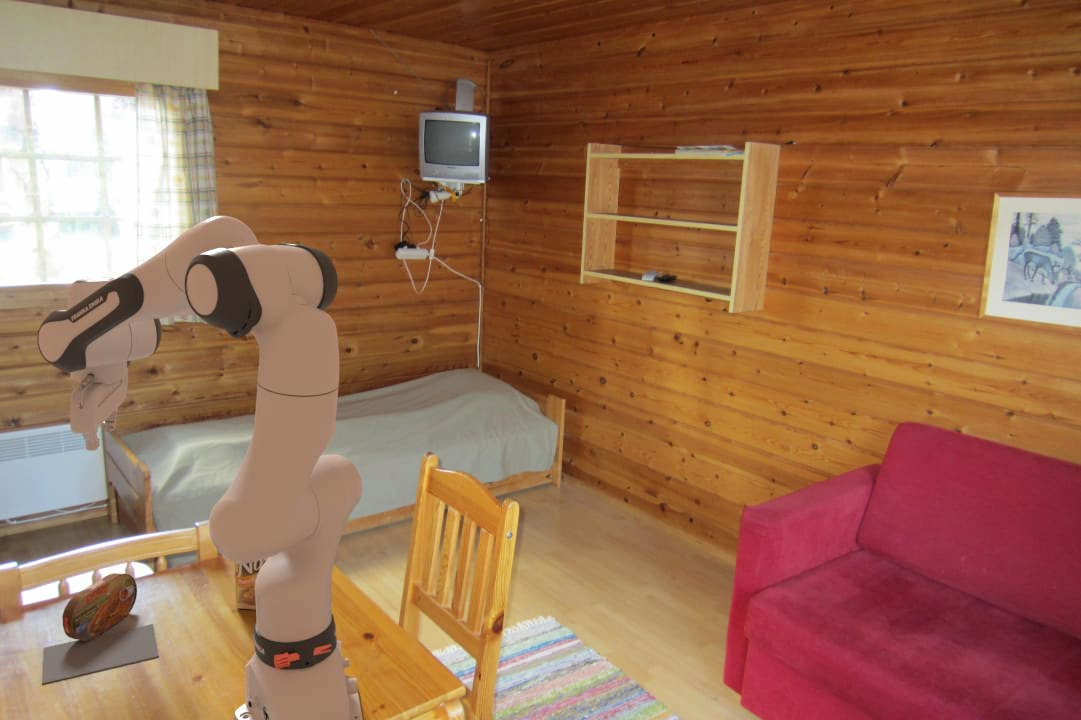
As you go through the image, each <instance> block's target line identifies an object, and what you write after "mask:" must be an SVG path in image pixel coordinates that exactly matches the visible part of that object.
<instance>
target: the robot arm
mask: <svg viewBox="0 0 1081 720" xmlns="http://www.w3.org/2000/svg"><path fill="white" fill-rule="evenodd" d="M338 289H339V281H338V275H337V269H336V267H335V265H334V263H333V261H332V260H331V258H330V256H329V255H327V254H326V253H325V252H324V251H323V250H320V249H319V248H318V249H317V248H316V247H311V246H306V245H301V244H294V243H286V242H280V243H278V244H273V245H272V244H271V245H267V244H261V243H260V242H259V241H258V238H257V236H256V234H255V232H253V230H252V229H251V228H250V227H249V226H248V225H247V224H246V223H244V222H243V221H241V220H240V219H238V218H236V217H233V216H228V215H215V216H212V217H210V218H207V219H204V220H203V221H201V222H199V223H197V224H196V225H193V226H192V227H190V228H189V229H187V230H185V231H183V233H181V234H180V235H179V236H177V237H176V238H175V239H174V240H173V241H172V242H171V243H170V244H168V245H167V246H165V248H163V249H162V250H161V251H159V252H158V253H156V254H155V255H153V256H151V257H150V258H149V259H147V260H146V261H144V262H142V263H141V264H140V265H137V266H136V267H134V268H132V269H131V270H128V271H127V272H125V273H123V274H122V275H120V276H118V277H116V278H114V277H99V278H98V277H97V278H84V279H77V280H76V281H74V282H72V283H71V284H70V287H69V291H68V300H67V309H63V310H62V309H61V310H59V309H58V310H53V311H51V312H50V313H49V314H48V315H47V316H46V317H45V319H44V320H43V321H42V323H41V324H40V326H39V328H38V331H37V346H38V350H39V353H40V354H41V357H42V358H43V359H44V360H45V361H46V363H49V364H50V365H51V366H53V367H55V368H56V369H57V370H60V371H62V372H64V373H66V374H70V378H71V380H73V381H76V382H78V386H76V388H74V389H73V390H72V393H71V395H70V405H69V406H70V410H69V411H70V412H69V413H70V414H69V415H70V416H69V420H70V421H69V422H70V424H69V425H70V430H71V432H72V433H73V434H81V435H82V437H83V439H84V441H85V449H86V450H87V451H88V452H89V451H90V452H91V451H93V452H95V451H98V449H99V447H101V446H100V438H99V437H98V434H97V433H98V429H99V428H100V427H101V426H102V431H104V432H105V433H106V432H109V433H111V432H113V431H115V429H116V427H117V425H116V424H117V423H116V420H117V416H118V411H119V406H121V404H122V403H123V402H124V401H126V398H127V394H128V387H129V367H130V366H131V364H132V361H136V360H140V359H145V358H148V357H151V356H153V355H154V354H155V353H156V352H157V350H158V348H159V346H160V344H161V342H162V337H163V336H162V334H163V330H162V324H161V321H160V319H164V318H172V317H173V318H174V317H182V316H189V315H193V314H195V315H197V317H199V318H200V319H201V320H202V321H204V322H205V323H206V324H208V325H210V326H211V327H212V326H213V327H215V328H217V329H220V330H224V331H226V333H228V334H229V335H230V336H231V337H232V338H236V339H242V338H244V337H246V336H247V335H248V334H249V333H251V334H252V335H253V337H254V338H255V340H256V342H257V344H258V349H259V351H258V352H259V361H258V362H259V363H258V367H257V368H258V369H257V370H258V372H257V382H256V383H257V388H256V399H255V400H256V401H255V413H254V424H253V430H252V435H251V439H250V443H249V445H248V447H247V450H246V454H245V455H244V459H243V461H242V462H241V465H240V468H239V470H238V472H237V474H236V476H235V477H234V479H233V481H232V482H231V484H230V486H229V488H228V489H227V490H226V492H224V494H223V495H222V496H221V498H220V499H219V500H218V501H217V502H216V503H215V504H214V505H213V507H212V509H211V511H210V515H209V521H208V531H209V536H210V539H211V541H212V544H213V546H214V547H215V549H216V550H217V552H218V553H220V555H222V556H223V558H225V559H227V560H228V561H230V562H232V563H234V564H235V563H237V564H247V563H251V562H255V561H259V560H263V559H266V558H268V559H267V560H266V561H265V563H264V564H263V566H262V567H261V569H260V571H259V573H258V575H257V578H256V582H255V598H256V609H255V614H256V615H255V617H256V622H255V624H254V628H253V634H252V635H253V637H252V638H253V644H254V651H255V652H254V653H253V656H252V657H251V658H250V659H249V661H248V662H247V664H246V665H245V667H244V679H245V681H244V683H245V684H244V685H245V686H244V690H245V692H244V695H245V697H244V703H243V704H242V705H241V706H239V707H238V708H237V709H236V710H235V711H234V717H233V719H234V720H364V719H363V718H364V717H363V713H362V706H361V701H360V696H359V690H358V689H359V687H358V680H357V678H356V677H350V674H346V673H345V669H346V668H347V669H348V668H349V667H350V659H349V657H346V658H343V653H342V651H343V649H342V648H343V647H342V646H343V644H342V643H343V642H342V641H341V640H340V639H337V626H336V622H335V616H334V613H332V588H333V587H332V584H333V583H332V581H333V580H332V579H333V578H332V576H333V570H334V564H335V559H336V556H337V551H338V547H339V545H340V542H341V539H342V536H343V533H344V530H345V527H346V525H347V522H348V520H349V518H350V516H351V515H352V513H353V511H354V509H355V508H356V507H357V505H358V503H359V501H361V498H362V495H363V493H362V492H363V483H362V478H361V475H360V472H359V471H358V469H357V468H356V466H355V464H354V463H352V461H350V460H349V458H347V457H345V456H343V455H341V454H338V453H337V454H335V453H332V454H323V453H324V452H325V450H326V449H327V448H328V447H329V445H330V444H331V442H332V440H333V438H334V435H335V431H336V420H337V411H338V409H337V408H338V397H339V385H340V349H339V346H340V345H339V337H338V330H337V325H336V323H335V320H334V319H333V317H331V315H330V314H328V313H327V312H326V311H325V310H326V309H328V308H329V307H330V306H331V305H332V304H333V302H334V301H335V298H336V296H337V294H338V293H337V292H338Z"/></svg>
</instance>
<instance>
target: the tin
mask: <svg viewBox="0 0 1081 720" xmlns="http://www.w3.org/2000/svg"><path fill="white" fill-rule="evenodd" d="M137 586H138V585H137V582H136V579H135V578H134V577H133V576H132V575H130V574H128V573H115V572H114V573H110V574H108V575H106V576H104V577H102V578H100V579H99V580H97V581H96V582H94V583H92V584H90V585H89V586H87V587H86V588H84V589H83V590H81V591H80V592H78V593H76V594H75V595H73V596H72V597H71V598H70V599H69V600H68V602H67V603H66V605H65V607H64V610H63V612H62V617H61V618H62V628H63V631H64V633H65V635H66V636H67V637H68V638H70V639H73V640H81V641H89V640H92V639H94V638H95V637H97V636H100V635H102V633H104V632H105V631H107V630H108V629H110V628H111V627H113V626H114V625H115V624H117V623H118V622H120V621H122V620H123V619H124V618H126V617H127V616H128V615H129V614H130V613H131V611H132V610H133V608H134V606H135V603H136V601H137V594H138V587H137Z"/></svg>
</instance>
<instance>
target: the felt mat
mask: <svg viewBox="0 0 1081 720" xmlns="http://www.w3.org/2000/svg"><path fill="white" fill-rule="evenodd" d="M155 634H156V633H155V627H154V623H152V624H151V623H150V624H147V625H143V626H142V625H141V626H136V627H134V628H128V629H123V630H119V631H115V632H109V633H105V634H100V635H98V636H97V637H95V638H94V639H92V640H89V641H81V640H78V639H76V640H74V641H67V642H64V643H60V644H59V643H58V644H55V645H50V646H46V647H45V646H44V647H43V660H42V675H41V676H42V679H41V685H46V684H50V683H54V682H58V681H62V680H68V679H72V678H75V677H80V676H84V675H88V674H93V673H97V672H101V671H105V670H109V669H110V670H111V669H113V668H118V667H122V666H127V665H131V664H135V663H138V662H143V661H147V660H152V659H156V658H159V655H160V654H159V650H158V645H157V638H156V635H155Z"/></svg>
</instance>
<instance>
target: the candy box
mask: <svg viewBox="0 0 1081 720" xmlns="http://www.w3.org/2000/svg"><path fill="white" fill-rule="evenodd" d="M267 559H268V558H266V559H263V560H259V561H255V562H251V563H247V564H237V563H234V581H235V603H236V604H235V606H236V609H243V610H246V609H247V610H256V598H255V582H256V578H257V575H258V573H259V571H260V569H261V567H262V566H263V564H264V563H265V561H266V560H267Z"/></svg>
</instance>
